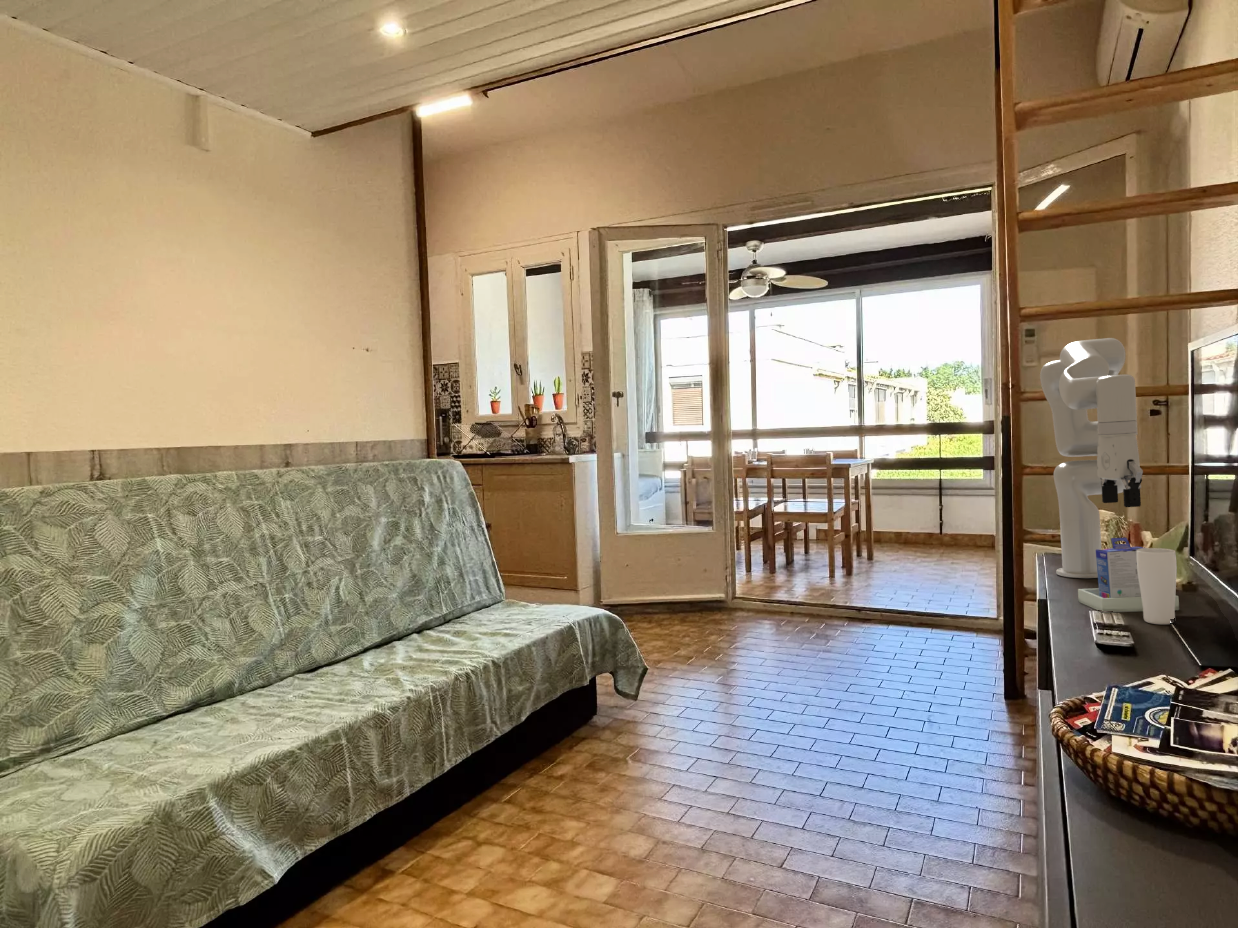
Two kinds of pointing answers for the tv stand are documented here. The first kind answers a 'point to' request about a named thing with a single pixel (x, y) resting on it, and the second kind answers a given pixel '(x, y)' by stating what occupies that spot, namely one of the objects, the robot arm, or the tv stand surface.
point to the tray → (1112, 601)
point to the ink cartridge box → (1118, 570)
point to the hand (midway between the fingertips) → (1121, 504)
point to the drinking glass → (1157, 583)
